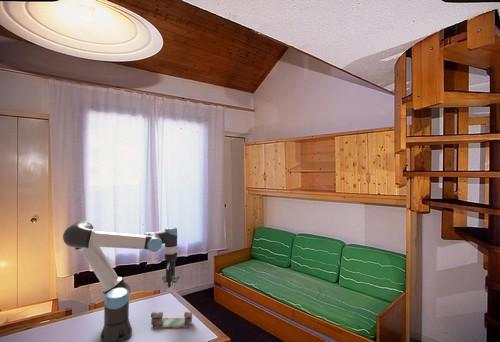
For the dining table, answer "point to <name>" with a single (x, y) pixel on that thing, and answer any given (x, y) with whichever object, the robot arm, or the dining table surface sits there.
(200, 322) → the dining table surface
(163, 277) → the mechanical component
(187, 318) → the mint panel frame
